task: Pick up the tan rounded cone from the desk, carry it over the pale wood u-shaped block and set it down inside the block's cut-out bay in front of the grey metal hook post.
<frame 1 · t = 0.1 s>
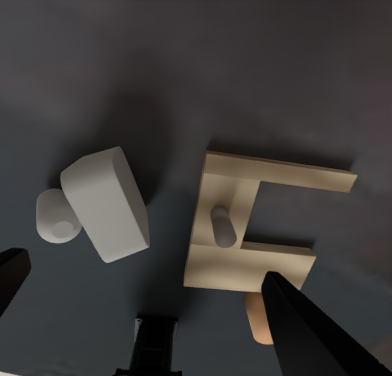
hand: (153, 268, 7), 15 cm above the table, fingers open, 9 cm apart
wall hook: (100, 187, 22), on the table
tan rounded cone: (259, 297, 30), on the table
pale wood u-shaped block: (255, 229, 25), on the table
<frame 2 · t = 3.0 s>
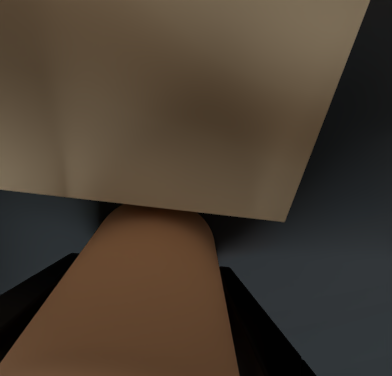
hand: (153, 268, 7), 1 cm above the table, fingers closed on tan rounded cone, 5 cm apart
tan rounded cone: (157, 249, 8), on the table, touching gripper
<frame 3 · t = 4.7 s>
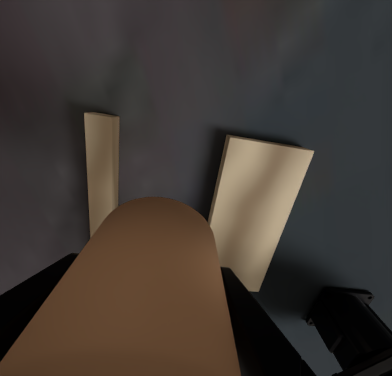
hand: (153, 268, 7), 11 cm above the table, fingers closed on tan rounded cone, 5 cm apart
tan rounded cone: (157, 249, 8), point 10 cm above the table, touching gripper
pale wood u-shaped block: (189, 212, 20), on the table
when the fingers open (2 cm above the table, at t = 6.7 s): tan rounded cone drops 2 cm, on the table.
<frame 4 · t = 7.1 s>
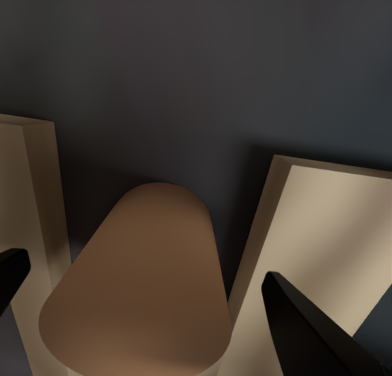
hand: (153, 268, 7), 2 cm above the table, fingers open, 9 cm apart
tan rounded cone: (162, 228, 10), on the table
pale wood u-shaped block: (199, 284, 11), on the table
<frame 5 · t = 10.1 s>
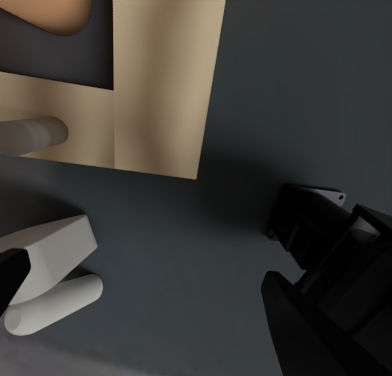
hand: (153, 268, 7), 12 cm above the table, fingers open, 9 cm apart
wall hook: (76, 249, 22), on the table
pale wood u-shaped block: (93, 58, 15), on the table
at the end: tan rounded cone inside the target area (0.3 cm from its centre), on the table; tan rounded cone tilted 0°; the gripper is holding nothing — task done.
